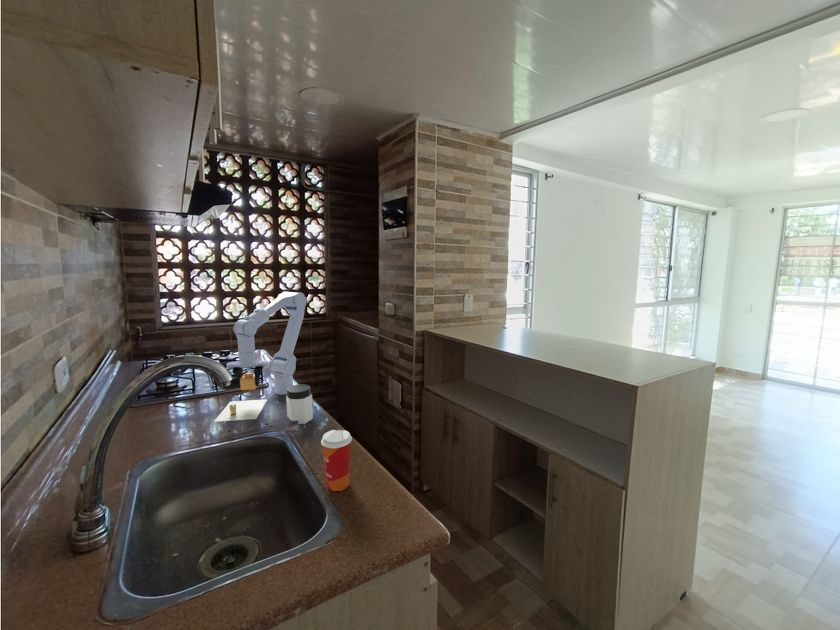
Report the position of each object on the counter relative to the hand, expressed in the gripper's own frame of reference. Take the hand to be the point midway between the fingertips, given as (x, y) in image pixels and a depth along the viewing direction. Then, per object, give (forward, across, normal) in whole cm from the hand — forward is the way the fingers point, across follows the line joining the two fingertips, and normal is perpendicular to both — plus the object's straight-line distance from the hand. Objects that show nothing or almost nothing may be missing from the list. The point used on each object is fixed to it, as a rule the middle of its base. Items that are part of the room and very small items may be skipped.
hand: (249, 385), depth 144 cm
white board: (+9, -2, -4) cm, 10 cm away
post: (+8, -4, -8) cm, 12 cm away
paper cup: (+10, +35, -55) cm, 66 cm away
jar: (+10, +20, -13) cm, 26 cm away
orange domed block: (+1, 0, 0) cm, 1 cm away
